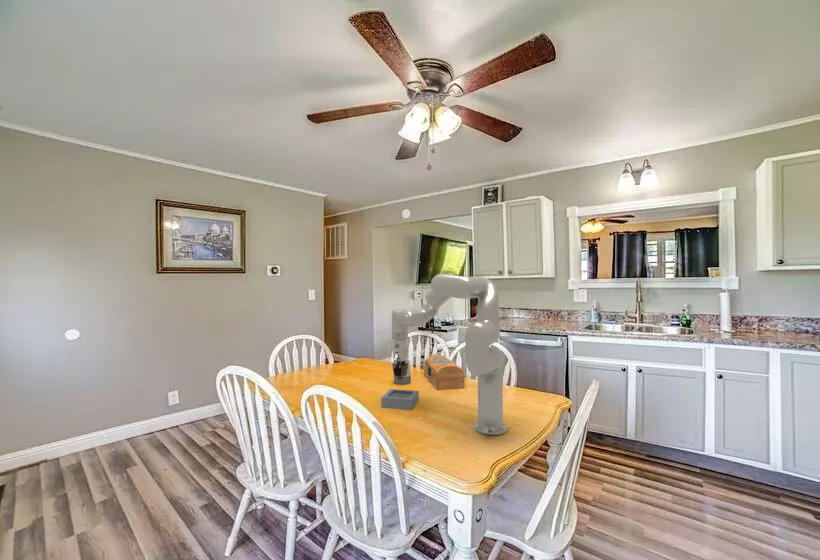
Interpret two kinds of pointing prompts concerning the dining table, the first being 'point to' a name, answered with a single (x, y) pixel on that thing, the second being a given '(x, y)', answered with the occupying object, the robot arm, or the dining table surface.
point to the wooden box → (443, 373)
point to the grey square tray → (400, 399)
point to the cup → (402, 371)
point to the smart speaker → (406, 378)
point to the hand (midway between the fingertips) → (400, 373)
